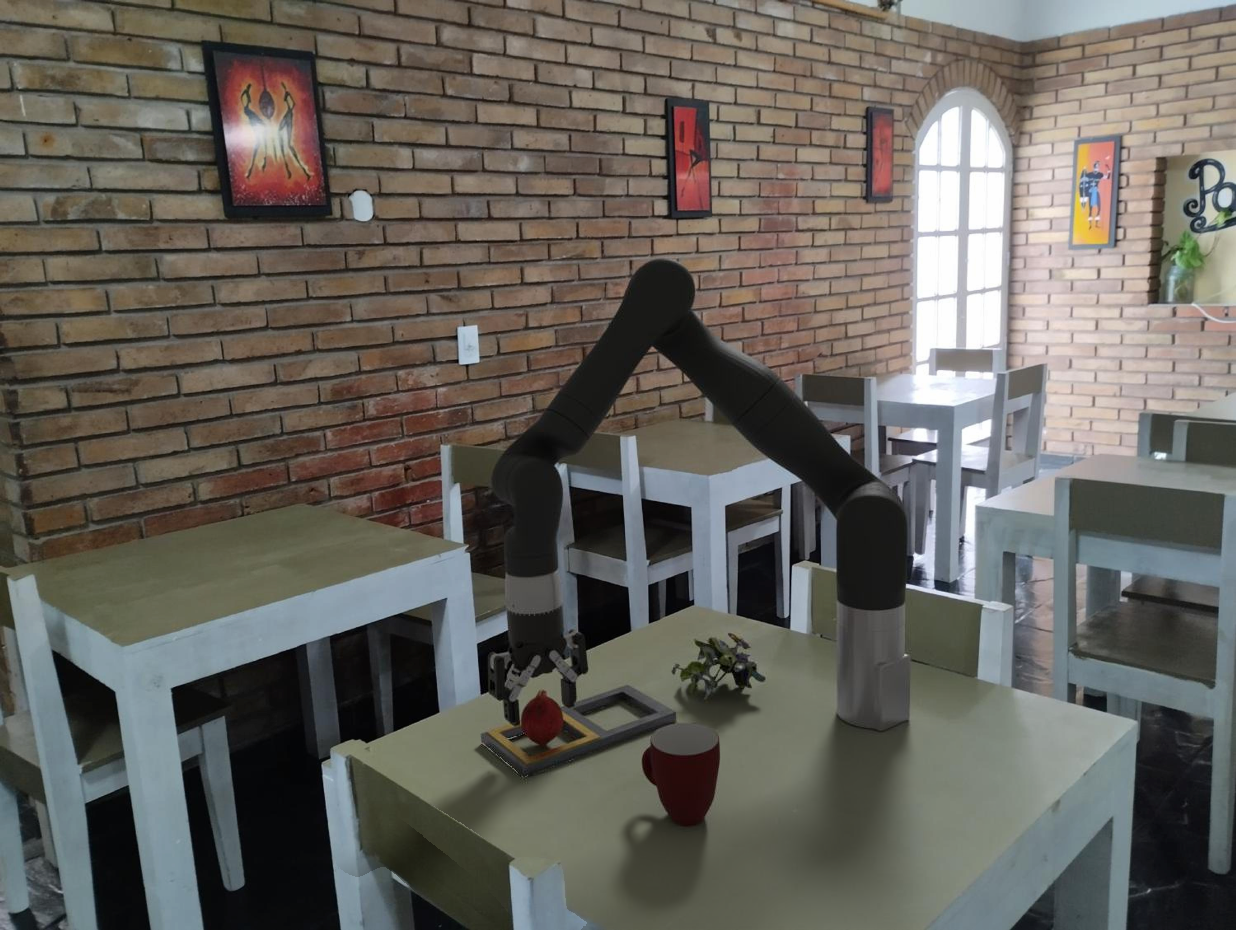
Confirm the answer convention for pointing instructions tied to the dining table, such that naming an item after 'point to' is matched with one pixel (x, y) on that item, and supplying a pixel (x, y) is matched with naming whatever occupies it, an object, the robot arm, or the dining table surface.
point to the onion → (542, 719)
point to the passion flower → (726, 659)
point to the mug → (684, 769)
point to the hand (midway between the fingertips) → (541, 714)
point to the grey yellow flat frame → (581, 730)
